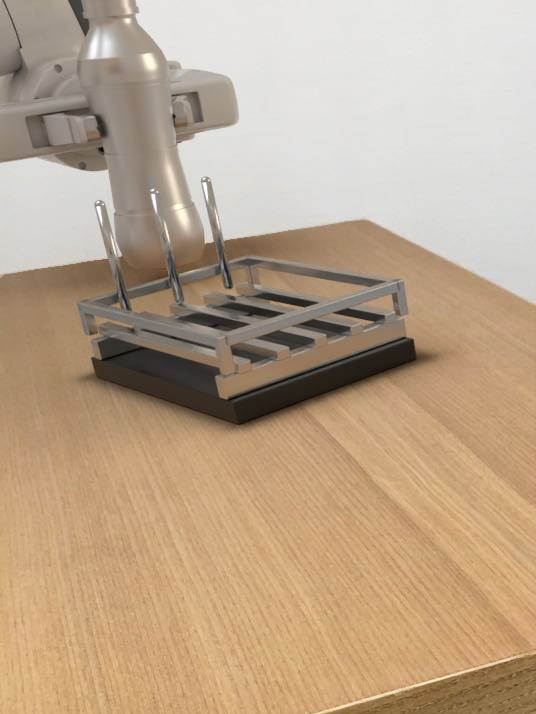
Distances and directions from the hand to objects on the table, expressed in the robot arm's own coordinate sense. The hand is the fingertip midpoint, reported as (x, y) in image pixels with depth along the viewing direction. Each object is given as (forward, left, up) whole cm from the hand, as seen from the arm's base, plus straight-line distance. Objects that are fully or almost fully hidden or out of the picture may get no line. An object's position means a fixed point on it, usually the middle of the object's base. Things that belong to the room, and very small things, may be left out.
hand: (137, 122), depth 90 cm
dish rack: (+26, -10, -12) cm, 30 cm away
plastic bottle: (-1, 0, -11) cm, 11 cm away
